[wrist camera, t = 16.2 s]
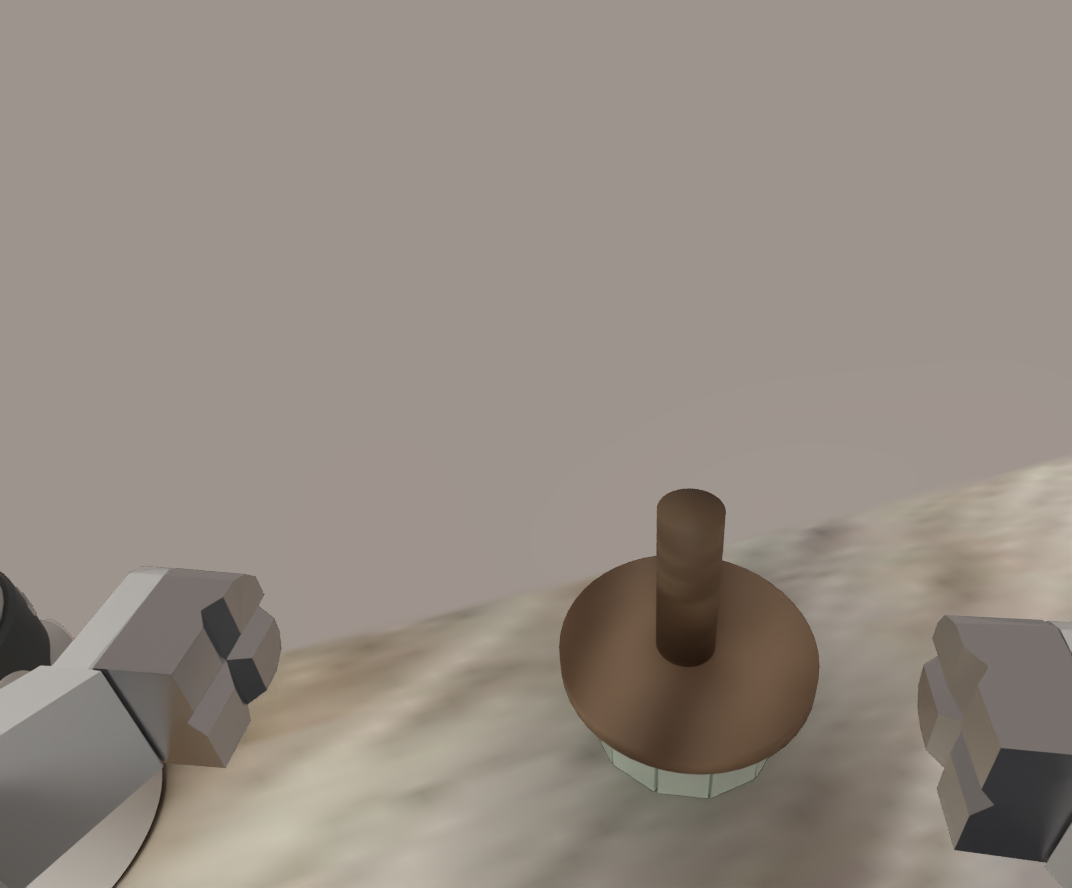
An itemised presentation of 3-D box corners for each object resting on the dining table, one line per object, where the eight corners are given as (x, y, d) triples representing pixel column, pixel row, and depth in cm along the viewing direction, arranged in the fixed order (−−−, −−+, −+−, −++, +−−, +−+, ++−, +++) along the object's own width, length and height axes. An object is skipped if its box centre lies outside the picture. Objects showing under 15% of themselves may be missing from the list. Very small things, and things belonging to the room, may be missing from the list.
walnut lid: (543, 759, 36) (522, 611, 30) (576, 563, 46) (565, 424, 40) (834, 789, 33) (874, 634, 27) (800, 575, 44) (823, 429, 38)
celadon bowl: (584, 785, 39) (579, 733, 36) (601, 633, 47) (599, 582, 44) (785, 806, 37) (795, 754, 35) (768, 645, 45) (775, 592, 43)
